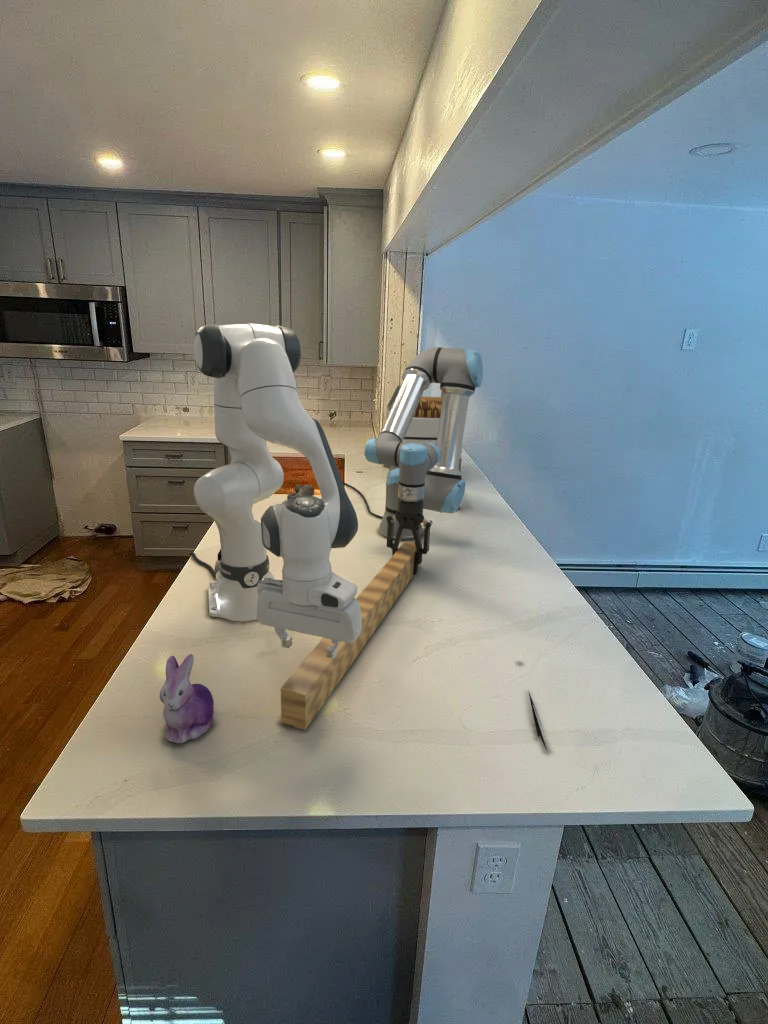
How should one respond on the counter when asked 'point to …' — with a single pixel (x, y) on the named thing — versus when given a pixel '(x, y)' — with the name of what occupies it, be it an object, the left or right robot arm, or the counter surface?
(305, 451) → the left robot arm
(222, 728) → the counter surface
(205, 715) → the figurine
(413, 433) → the transformer
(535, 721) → the feather
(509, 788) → the counter surface
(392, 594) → the bar
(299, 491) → the fossil
